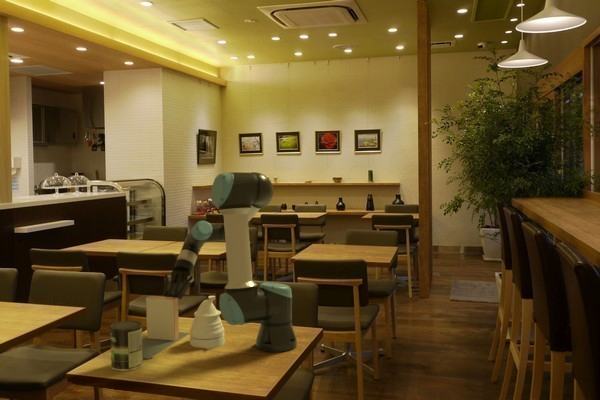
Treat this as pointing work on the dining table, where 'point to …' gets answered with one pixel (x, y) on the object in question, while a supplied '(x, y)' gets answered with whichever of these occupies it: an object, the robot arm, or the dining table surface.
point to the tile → (162, 318)
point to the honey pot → (207, 326)
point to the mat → (157, 345)
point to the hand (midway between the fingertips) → (165, 313)
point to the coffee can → (126, 345)
